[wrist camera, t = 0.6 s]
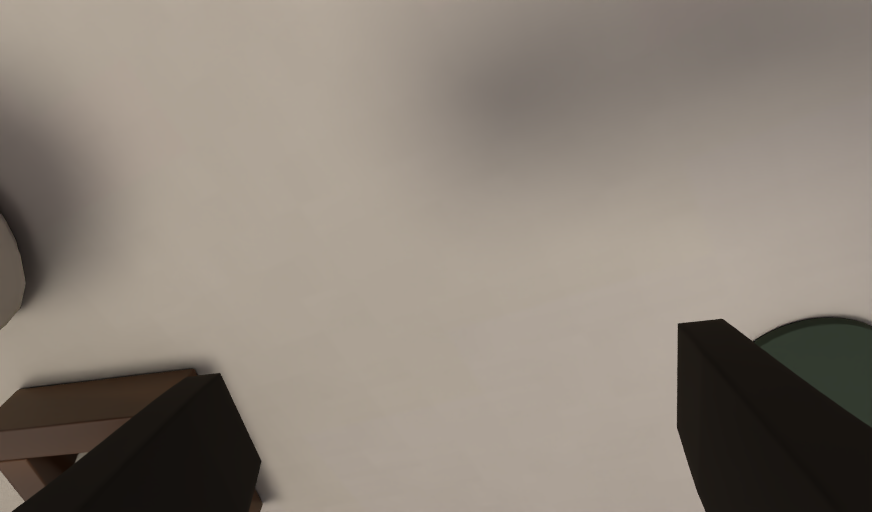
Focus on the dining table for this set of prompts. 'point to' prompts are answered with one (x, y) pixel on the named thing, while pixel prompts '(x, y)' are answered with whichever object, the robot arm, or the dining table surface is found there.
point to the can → (9, 275)
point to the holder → (72, 424)
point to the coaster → (828, 359)
